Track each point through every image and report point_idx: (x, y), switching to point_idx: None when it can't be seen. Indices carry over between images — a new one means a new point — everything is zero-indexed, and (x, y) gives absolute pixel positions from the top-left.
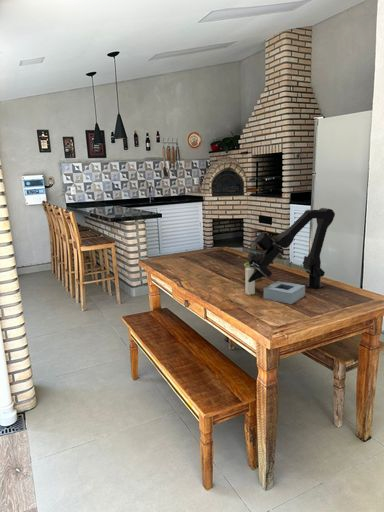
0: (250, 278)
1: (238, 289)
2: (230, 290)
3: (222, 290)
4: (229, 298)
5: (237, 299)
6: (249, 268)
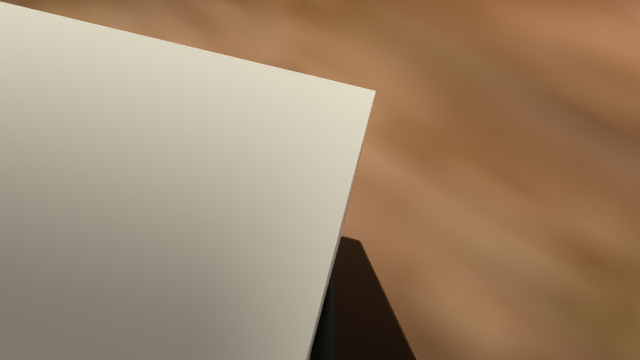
0: None
1: (516, 278)
2: (524, 162)
3: (568, 82)
4: (260, 3)
5: None
6: (97, 218)
